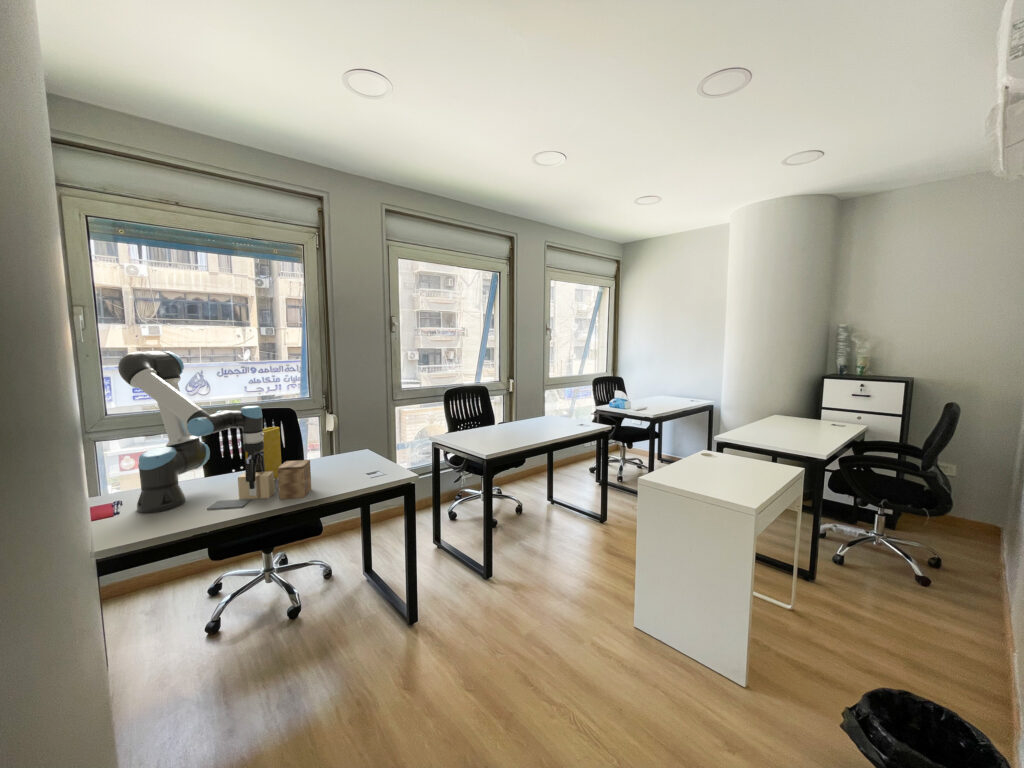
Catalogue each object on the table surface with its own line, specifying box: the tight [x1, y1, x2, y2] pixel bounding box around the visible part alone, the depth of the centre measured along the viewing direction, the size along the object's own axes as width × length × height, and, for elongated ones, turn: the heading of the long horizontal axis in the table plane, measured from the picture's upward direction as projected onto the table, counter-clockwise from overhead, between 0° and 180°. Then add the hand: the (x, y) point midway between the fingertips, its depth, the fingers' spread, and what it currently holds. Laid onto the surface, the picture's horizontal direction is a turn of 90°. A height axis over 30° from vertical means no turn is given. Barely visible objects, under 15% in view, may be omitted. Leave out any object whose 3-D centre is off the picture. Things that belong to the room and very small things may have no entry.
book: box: [243, 426, 282, 480], centre depth 196 cm, size 17×7×25 cm, turn 168°
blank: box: [237, 471, 276, 500], centre depth 178 cm, size 12×6×10 cm, turn 101°
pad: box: [206, 498, 252, 511], centre depth 168 cm, size 13×8×1 cm, turn 101°
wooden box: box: [277, 459, 312, 500], centre depth 180 cm, size 10×10×14 cm
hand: (256, 492), depth 178 cm, fingers closed on blank, 6 cm apart
